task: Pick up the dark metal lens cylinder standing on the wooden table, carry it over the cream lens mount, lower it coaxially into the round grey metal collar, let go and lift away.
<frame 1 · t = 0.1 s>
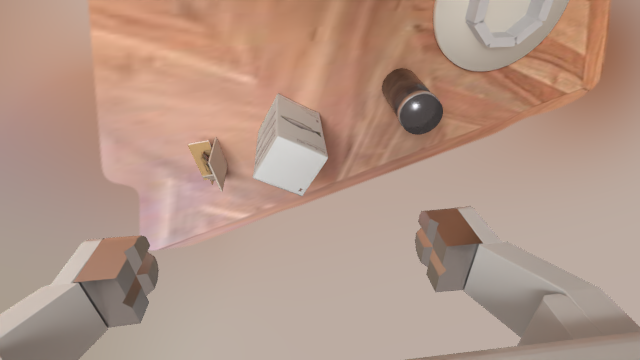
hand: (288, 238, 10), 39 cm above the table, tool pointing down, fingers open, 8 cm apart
lens: (399, 85, 49), on the table
lens mount: (500, 1, 43), on the table
architectural model: (217, 150, 53), on the table
supplement box: (288, 120, 51), on the table
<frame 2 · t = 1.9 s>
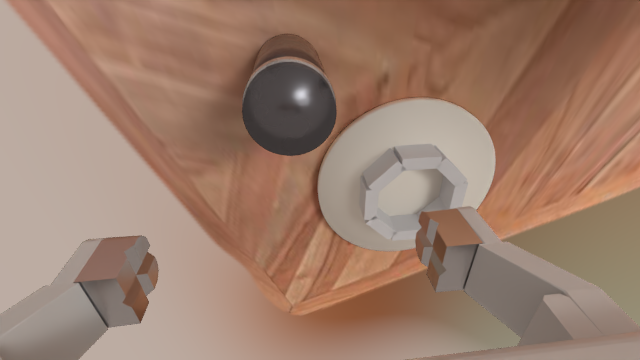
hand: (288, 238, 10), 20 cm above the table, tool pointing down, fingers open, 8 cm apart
lens: (288, 68, 26), on the table
lens mount: (403, 181, 34), on the table
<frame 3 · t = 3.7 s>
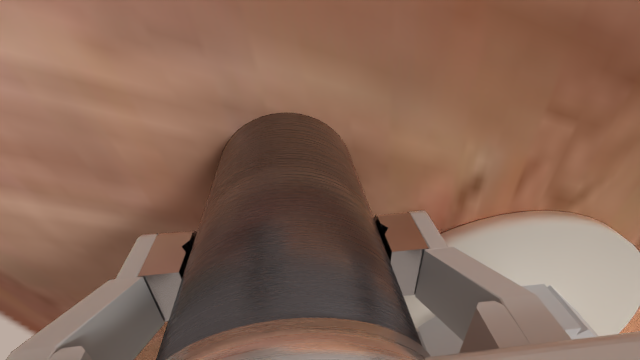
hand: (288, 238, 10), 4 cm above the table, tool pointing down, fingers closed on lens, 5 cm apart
lens: (287, 175, 13), on the table, touching gripper
lens mount: (479, 324, 20), on the table
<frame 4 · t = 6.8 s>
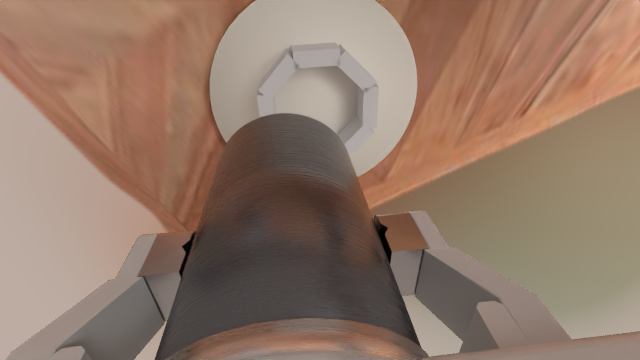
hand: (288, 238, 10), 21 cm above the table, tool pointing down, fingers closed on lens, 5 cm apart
lens: (286, 175, 13), point 17 cm above the table, touching gripper
lens mount: (315, 98, 29), on the table
when the fingers open (6 cm above the table, at t = 9.7 s): lens drops 1 cm, resting on lens mount.
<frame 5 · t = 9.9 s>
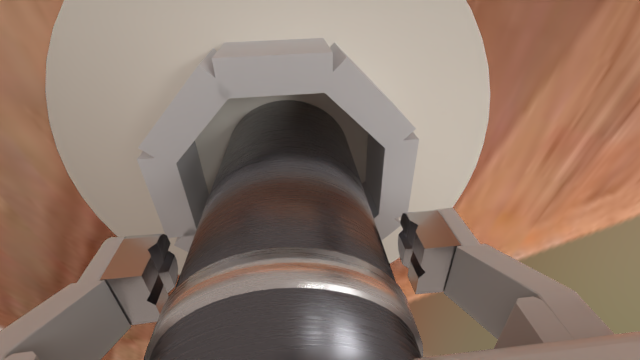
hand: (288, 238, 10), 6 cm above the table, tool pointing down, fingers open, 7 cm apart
lens: (289, 158, 14), point 1 cm above the table, touching lens mount
lens mount: (285, 148, 15), on the table
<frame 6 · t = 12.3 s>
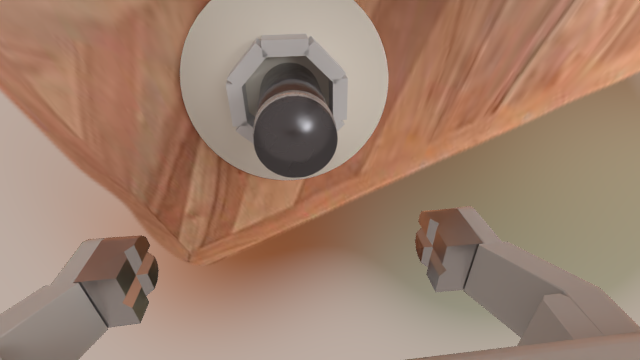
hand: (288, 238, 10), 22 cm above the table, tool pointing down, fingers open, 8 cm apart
lens: (290, 93, 28), point 1 cm above the table, touching lens mount
lens mount: (287, 90, 29), on the table
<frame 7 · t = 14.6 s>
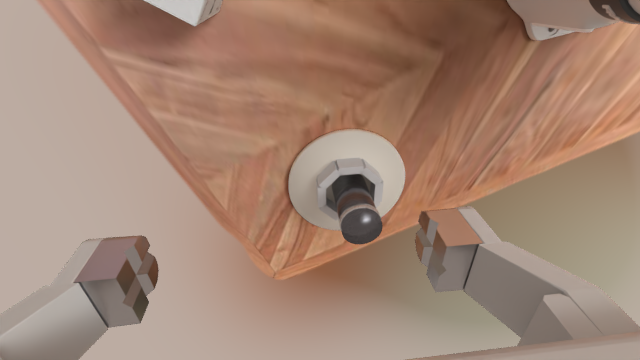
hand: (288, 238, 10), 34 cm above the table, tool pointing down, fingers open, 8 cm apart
lens: (348, 185, 49), point 1 cm above the table, touching lens mount
lens mount: (346, 182, 50), on the table
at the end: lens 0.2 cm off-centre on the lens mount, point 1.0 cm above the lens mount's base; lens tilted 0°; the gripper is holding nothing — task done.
